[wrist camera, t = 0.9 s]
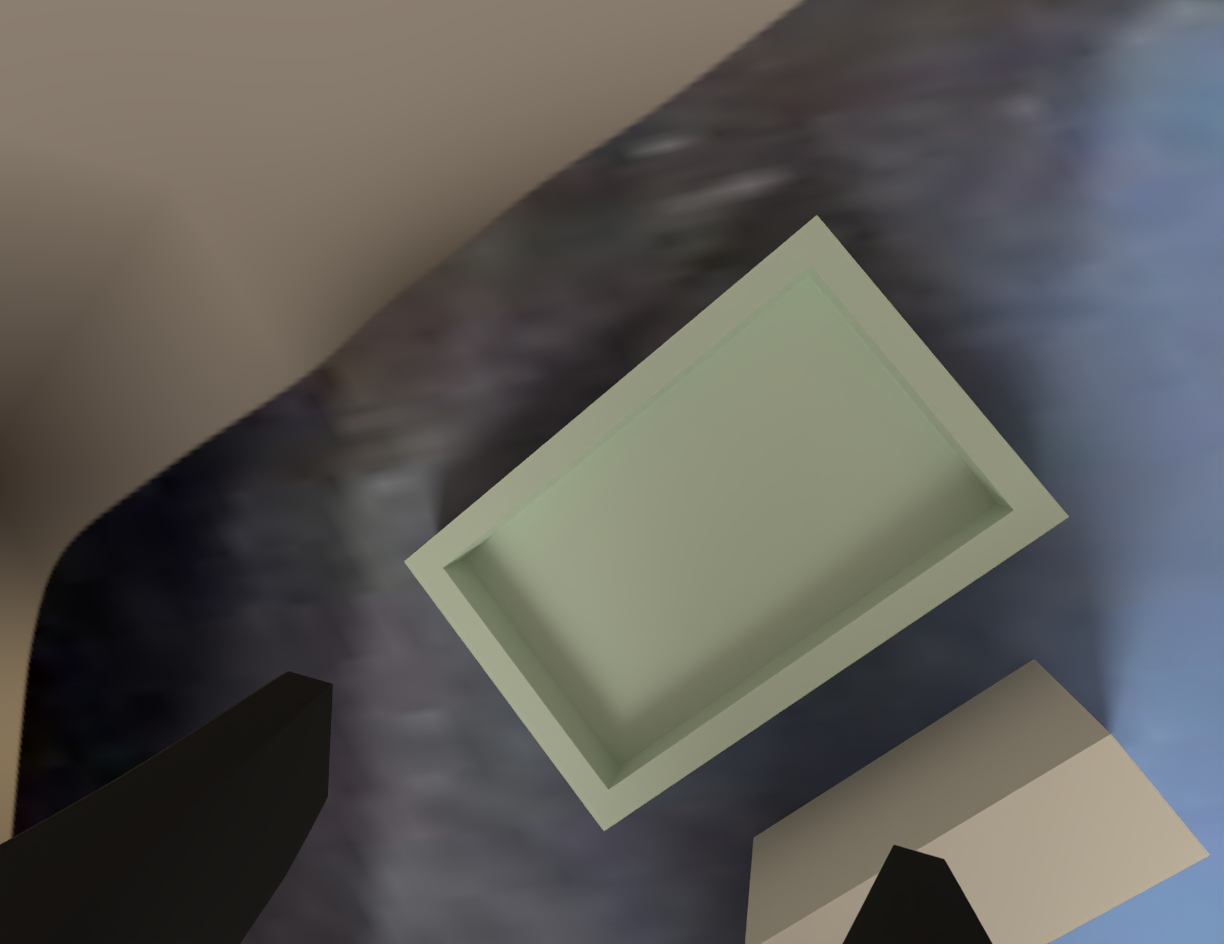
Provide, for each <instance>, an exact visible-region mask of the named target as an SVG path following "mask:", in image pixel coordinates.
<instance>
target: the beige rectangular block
mask: <svg viewBox="0 0 1224 944" xmlns="http://www.w3.org/2000/svg"><path fill="white" fill-rule="evenodd" d="M893 845H897V846H901V847H904V848H908V849H911V850H915V851H918V852H922V853H925V854H929V855H932V856H936V857H939V858H942V859H945V861H946V863H947V864H948V866H949V868H950V870H951V871H952V873H953V875H954V877H955V878H956V880H957V882H958V884H959V885H960V887H961V889H962V891H963V892H964V894H965V896H966V898H967V899H968V901H969V903H970V905H971V906H972V908H973V910H974V912H975V913H976V915H977V917H978V919H979V921H980V922H981V924H982V926H983V928H984V929H985V931H986V933H987V935H988V936H989V938H990V940H991V942H992V944H1048V943H1050V942H1051V941H1053V940H1055V939H1057V938H1059V937H1061V936H1062V935H1064V934H1066V933H1068V932H1070V931H1072V930H1073V929H1075V928H1077V927H1079V926H1081V925H1083V924H1084V923H1086V922H1088V921H1090V920H1092V919H1094V918H1095V917H1097V916H1099V915H1101V914H1103V913H1105V912H1107V911H1108V910H1110V909H1112V908H1114V907H1116V906H1118V905H1119V904H1121V903H1123V902H1125V901H1127V900H1129V899H1130V898H1132V897H1134V896H1136V895H1138V894H1140V893H1141V892H1143V891H1145V890H1147V889H1149V888H1151V887H1152V886H1154V885H1156V884H1158V883H1160V882H1162V881H1163V880H1165V879H1167V878H1169V877H1171V876H1173V875H1175V874H1176V873H1178V872H1180V871H1182V870H1184V869H1186V868H1187V867H1189V866H1191V865H1193V864H1195V863H1197V862H1198V861H1200V860H1202V859H1204V858H1206V857H1208V856H1209V853H1208V852H1207V851H1206V850H1205V848H1204V847H1203V846H1202V845H1201V843H1200V842H1199V841H1198V840H1197V839H1196V837H1195V836H1194V835H1193V834H1192V832H1191V831H1190V830H1189V829H1188V828H1187V826H1186V825H1185V824H1184V823H1183V821H1182V820H1181V819H1180V818H1179V817H1178V815H1177V814H1176V813H1175V812H1174V810H1173V809H1172V808H1171V807H1170V806H1169V804H1168V803H1167V802H1166V801H1165V799H1164V798H1163V797H1162V796H1161V795H1160V793H1159V792H1158V791H1157V790H1156V788H1155V787H1154V786H1153V785H1152V784H1151V782H1150V781H1149V780H1148V779H1147V777H1146V776H1145V775H1144V774H1143V772H1142V771H1141V770H1140V769H1139V768H1138V766H1137V765H1136V764H1135V763H1134V761H1133V760H1132V759H1131V758H1130V757H1129V755H1128V754H1127V753H1126V752H1125V750H1124V749H1123V748H1122V747H1121V746H1120V744H1119V743H1118V742H1117V741H1116V739H1115V738H1114V737H1113V736H1112V735H1111V733H1110V732H1109V731H1108V730H1106V729H1105V728H1104V727H1103V726H1102V725H1101V724H1100V723H1099V722H1098V721H1097V720H1096V719H1095V718H1094V717H1093V716H1092V715H1091V714H1090V713H1089V712H1088V711H1087V710H1086V709H1085V708H1084V707H1083V706H1082V705H1081V704H1080V703H1079V702H1078V701H1077V700H1076V699H1075V698H1074V697H1073V696H1072V695H1071V694H1070V693H1069V692H1068V691H1067V690H1066V689H1065V688H1064V687H1063V686H1061V685H1060V684H1059V683H1058V682H1057V681H1056V680H1055V679H1054V678H1053V677H1052V676H1051V675H1050V674H1049V673H1048V672H1047V671H1046V670H1045V669H1044V668H1043V667H1042V666H1041V665H1040V664H1039V663H1038V662H1037V661H1036V660H1035V659H1033V660H1031V661H1030V662H1028V663H1027V664H1025V665H1023V666H1022V667H1020V668H1019V669H1017V670H1016V671H1014V672H1012V673H1011V674H1009V675H1008V676H1006V677H1005V678H1003V679H1001V680H1000V681H998V682H997V683H995V684H994V685H992V686H991V687H989V688H987V689H986V690H984V691H983V692H981V693H980V694H978V695H976V696H975V697H973V698H972V699H970V700H969V701H967V702H965V703H964V704H962V705H961V706H959V707H958V708H956V709H954V710H953V711H951V712H950V713H948V714H947V715H945V716H943V717H942V718H940V719H939V720H937V721H936V722H934V723H932V724H931V725H929V726H928V727H926V728H925V729H923V730H921V731H920V732H918V733H917V734H915V735H914V736H912V737H911V738H909V739H907V740H906V741H904V742H903V743H901V744H900V745H898V746H896V747H895V748H893V749H892V750H890V751H889V752H887V753H885V754H884V755H882V756H881V757H879V758H878V759H876V760H874V761H873V762H871V763H870V764H868V765H867V766H865V767H863V768H862V769H860V770H859V771H857V772H856V773H854V774H852V775H851V776H849V777H848V778H846V779H845V780H843V781H841V782H840V783H838V784H837V785H835V786H834V787H832V788H831V789H829V790H827V791H826V792H824V793H823V794H821V795H820V796H818V797H816V798H815V799H813V800H812V801H810V802H809V803H807V804H805V805H804V806H802V807H801V808H799V809H798V810H796V811H794V812H793V813H791V814H790V815H788V816H787V817H785V818H783V819H782V820H780V821H779V822H777V823H776V824H774V825H772V826H771V827H769V828H768V829H766V830H765V831H763V832H761V833H760V834H758V835H757V836H755V837H754V838H753V850H752V862H751V875H750V887H749V900H748V912H747V925H746V937H745V944H843V942H844V940H845V938H846V936H847V934H848V932H849V930H850V928H851V926H852V924H853V922H854V920H855V919H856V917H857V915H858V913H859V911H860V909H861V907H862V905H863V903H864V901H865V899H866V897H867V895H868V893H869V891H870V889H871V887H872V886H873V884H874V882H875V880H876V878H877V876H878V874H879V872H880V870H881V868H882V866H883V864H884V862H885V860H886V858H887V856H888V854H889V853H890V851H891V849H892V847H893Z"/></svg>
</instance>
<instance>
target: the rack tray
mask: <svg viewBox="0 0 1224 944" xmlns="http://www.w3.org/2000/svg"><path fill="white" fill-rule="evenodd" d="M1068 517H1069V516H1068V515H1067V514H1066V513H1065V511H1064V510H1063V509H1062V508H1061V507H1060V505H1059V504H1058V503H1057V502H1056V501H1055V499H1054V498H1053V497H1052V496H1051V495H1050V493H1049V492H1048V491H1047V490H1046V489H1045V487H1044V486H1043V485H1042V484H1041V483H1040V481H1039V480H1038V479H1037V478H1036V477H1035V475H1034V474H1033V473H1032V472H1031V471H1030V469H1029V468H1028V467H1027V466H1026V465H1025V463H1024V462H1023V461H1022V460H1021V459H1020V457H1019V456H1018V455H1017V454H1016V453H1015V451H1014V450H1013V449H1012V448H1011V447H1010V445H1009V444H1008V443H1007V442H1006V441H1005V439H1004V438H1003V437H1002V436H1001V435H1000V433H999V432H998V431H997V430H996V429H995V427H994V426H993V425H992V424H991V423H990V421H989V420H988V419H987V418H986V417H985V416H984V414H983V413H982V412H981V411H980V410H979V408H978V407H977V406H976V405H975V404H974V402H973V401H972V400H971V399H970V398H969V396H968V395H967V394H966V393H965V392H964V390H963V389H962V388H961V387H960V386H959V384H958V383H957V382H956V381H955V380H954V378H953V377H952V376H951V375H950V374H949V372H948V371H947V370H946V369H945V368H944V366H943V365H942V364H941V363H940V362H939V360H938V359H937V358H936V357H935V356H934V354H933V353H932V352H931V351H930V350H929V348H928V347H927V346H926V345H925V344H924V342H923V341H922V340H921V339H920V338H919V336H918V335H917V334H916V333H915V332H914V330H913V329H912V328H911V327H910V326H909V325H908V323H907V322H906V321H905V320H904V319H903V317H902V316H901V315H900V314H899V313H898V311H897V310H896V309H895V308H894V307H893V305H892V304H891V303H890V302H889V301H888V299H887V298H886V297H885V296H884V295H883V293H882V292H881V291H880V290H879V289H878V287H877V286H876V285H875V284H874V283H873V281H872V280H871V279H870V278H869V277H868V275H867V274H866V273H865V272H864V271H863V269H862V268H861V267H860V266H859V265H858V263H857V262H856V261H855V260H854V259H853V257H852V256H851V255H850V254H849V253H848V251H847V250H846V249H845V248H844V247H843V245H842V244H841V243H840V242H839V241H838V239H837V238H836V237H835V236H834V235H833V233H832V232H831V231H830V230H829V229H828V228H827V226H826V225H825V224H824V223H823V222H822V220H821V219H820V218H819V217H818V216H817V215H816V216H815V217H814V218H813V219H812V220H810V221H809V222H808V223H807V224H806V225H804V226H803V227H802V228H801V229H800V230H798V231H797V232H796V233H795V234H794V235H792V236H791V237H790V238H789V239H788V240H787V241H785V242H784V243H783V244H782V245H781V246H779V247H778V248H777V249H776V250H775V251H773V252H772V253H771V254H770V255H769V256H767V257H766V258H765V259H764V260H763V261H762V262H760V263H759V264H758V265H757V266H756V267H754V268H753V269H752V270H751V271H750V272H748V273H747V274H746V275H745V276H744V277H742V278H741V279H740V280H739V281H738V282H737V283H735V284H734V285H733V286H732V287H731V288H729V289H728V290H727V291H726V292H725V293H723V294H722V295H721V296H720V297H719V298H717V299H716V300H715V301H714V302H713V303H712V304H710V305H709V306H708V307H707V308H706V309H704V310H703V311H702V312H701V313H700V314H698V315H697V316H696V317H695V318H694V319H692V320H691V321H690V322H689V323H688V324H686V325H685V326H684V327H683V328H682V329H681V330H679V331H678V332H677V333H676V334H675V335H673V336H672V337H671V338H670V339H669V340H667V341H666V342H665V343H664V344H663V345H661V346H660V347H659V348H658V349H657V350H656V351H654V352H653V353H652V354H651V355H650V356H648V357H647V358H646V359H645V360H644V361H642V362H641V363H640V364H639V365H638V366H636V367H635V368H634V369H633V370H632V371H631V372H629V373H628V374H627V375H626V376H625V377H623V378H622V379H621V380H620V381H619V382H617V383H616V384H615V385H614V386H613V387H611V388H610V389H609V390H608V391H607V392H606V393H604V394H603V395H602V396H601V397H600V398H598V399H597V400H596V401H595V402H594V403H592V404H591V405H590V406H589V407H588V408H586V409H585V410H584V411H583V412H582V413H581V414H579V415H578V416H577V417H576V418H575V419H573V420H572V421H571V422H570V423H569V424H567V425H566V426H565V427H564V428H563V429H561V430H560V431H559V432H558V433H557V434H556V435H554V436H553V437H552V438H551V439H550V440H548V441H547V442H546V443H545V444H544V445H542V446H541V447H540V448H539V449H538V450H536V451H535V452H534V453H533V454H532V455H530V456H529V457H528V458H527V459H526V460H525V461H523V462H522V463H521V464H520V465H519V466H517V467H516V468H515V469H514V470H513V471H511V472H510V473H509V474H508V475H507V476H505V477H504V478H503V479H502V480H501V481H500V482H498V483H497V484H496V485H495V486H494V487H492V488H491V489H490V490H489V491H488V492H486V493H485V494H484V495H483V496H482V497H480V498H479V499H478V500H477V501H476V502H475V503H473V504H472V505H471V506H470V507H469V508H467V509H466V510H465V511H464V512H463V513H461V514H460V515H459V516H458V517H457V518H455V519H454V520H453V521H452V522H451V523H450V524H448V525H447V526H446V527H445V528H444V529H442V530H441V531H440V532H439V533H438V534H436V535H435V536H434V537H433V538H432V539H430V540H429V541H428V542H427V543H426V544H425V545H423V546H422V547H421V548H420V549H419V550H417V551H416V552H415V553H414V554H413V555H411V556H410V557H409V558H408V559H407V560H405V561H404V562H405V563H406V565H407V566H408V568H409V569H410V570H411V572H412V573H413V574H414V576H415V577H416V578H417V580H418V581H419V582H420V584H421V585H422V586H423V588H424V589H425V590H426V592H427V593H428V595H429V596H430V597H431V599H432V600H433V601H434V603H435V604H436V605H437V607H438V608H439V609H440V611H441V612H442V613H443V615H444V616H445V617H446V619H447V620H448V622H449V623H450V624H451V626H452V627H453V628H454V630H455V631H456V632H457V634H458V635H459V636H460V638H461V639H462V640H463V642H464V643H465V644H466V646H467V647H468V649H469V650H470V651H471V653H472V654H473V655H474V657H475V658H476V659H477V661H478V662H479V663H480V665H481V666H482V667H483V669H484V670H485V671H486V673H487V674H488V676H489V677H490V678H491V680H492V681H493V682H494V684H495V685H496V686H497V688H498V689H499V690H500V692H501V693H502V694H503V696H504V697H505V698H506V700H507V701H508V703H509V704H510V705H511V707H512V708H513V709H514V711H515V712H516V713H517V715H518V716H519V717H520V719H521V720H522V721H523V723H524V724H525V725H526V727H527V728H528V730H529V731H530V732H531V734H532V735H533V736H534V738H535V739H536V740H537V742H538V743H539V744H540V746H541V747H542V748H543V750H544V751H545V752H546V754H547V755H548V757H549V758H550V759H551V761H552V762H553V763H554V765H555V766H556V767H557V769H558V770H559V771H560V773H561V774H562V775H563V777H564V778H565V779H566V781H567V782H568V784H569V785H570V786H571V788H572V789H573V790H574V792H575V793H576V794H577V796H578V797H579V798H580V800H581V801H582V802H583V804H584V805H585V806H586V808H587V809H588V811H589V812H590V813H591V815H592V816H593V817H594V819H595V820H596V821H597V823H598V824H599V825H600V827H601V828H602V829H603V831H605V830H607V829H608V828H609V827H611V826H612V825H614V824H615V823H617V822H618V821H620V820H621V819H623V818H624V817H626V816H627V815H629V814H630V813H632V812H633V811H635V810H636V809H638V808H639V807H641V806H642V805H644V804H645V803H646V802H648V801H649V800H651V799H652V798H654V797H655V796H657V795H658V794H660V793H661V792H663V791H664V790H666V789H667V788H669V787H670V786H672V785H673V784H675V783H676V782H678V781H679V780H681V779H682V778H683V777H685V776H686V775H688V774H689V773H691V772H692V771H694V770H695V769H697V768H698V767H700V766H701V765H703V764H704V763H706V762H707V761H709V760H710V759H712V758H713V757H715V756H716V755H718V754H719V753H720V752H722V751H723V750H725V749H726V748H728V747H729V746H731V745H732V744H734V743H735V742H737V741H738V740H740V739H741V738H743V737H744V736H746V735H747V734H749V733H750V732H752V731H753V730H755V729H756V728H757V727H759V726H760V725H762V724H763V723H765V722H766V721H768V720H769V719H771V718H772V717H774V716H775V715H777V714H778V713H780V712H781V711H783V710H784V709H786V708H787V707H789V706H790V705H792V704H793V703H794V702H796V701H797V700H799V699H800V698H802V697H803V696H805V695H806V694H808V693H809V692H811V691H812V690H814V689H815V688H817V687H818V686H820V685H821V684H823V683H824V682H826V681H827V680H829V679H830V678H831V677H833V676H834V675H836V674H837V673H839V672H840V671H842V670H843V669H845V668H846V667H848V666H849V665H851V664H852V663H854V662H855V661H857V660H858V659H860V658H861V657H863V656H864V655H866V654H867V653H868V652H870V651H871V650H873V649H874V648H876V647H877V646H879V645H880V644H882V643H883V642H885V641H886V640H888V639H889V638H891V637H892V636H894V635H895V634H897V633H898V632H900V631H901V630H903V629H904V628H905V627H907V626H908V625H910V624H911V623H913V622H914V621H916V620H917V619H919V618H920V617H922V616H923V615H925V614H926V613H928V612H929V611H931V610H932V609H934V608H935V607H937V606H938V605H940V604H941V603H942V602H944V601H945V600H947V599H948V598H950V597H951V596H953V595H954V594H956V593H957V592H959V591H960V590H962V589H963V588H965V587H966V586H968V585H969V584H971V583H972V582H974V581H975V580H977V579H978V578H979V577H981V576H982V575H984V574H985V573H987V572H988V571H990V570H991V569H993V568H994V567H996V566H997V565H999V564H1000V563H1002V562H1003V561H1005V560H1006V559H1008V558H1009V557H1011V556H1012V555H1014V554H1015V553H1016V552H1018V551H1019V550H1021V549H1022V548H1024V547H1025V546H1027V545H1028V544H1030V543H1031V542H1033V541H1034V540H1036V539H1037V538H1039V537H1040V536H1042V535H1043V534H1045V533H1046V532H1048V531H1049V530H1051V529H1052V528H1053V527H1055V526H1056V525H1058V524H1059V523H1061V522H1062V521H1064V520H1065V519H1067V518H1068Z"/></svg>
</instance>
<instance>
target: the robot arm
mask: <svg viewBox="0 0 1224 944" xmlns="http://www.w3.org/2000/svg"><path fill="white" fill-rule="evenodd" d="M332 690H333V684H331V683H328V682H324V681H321V680H317V679H314V678H310V677H307V676H303V675H300V674H296V673H293V672H289V671H288V672H286V673H284V674H283V675H281V676H279V677H278V678H276V679H274V680H273V681H271V682H270V683H268V684H266V685H265V686H263V687H262V688H260V689H259V690H257V691H255V692H254V693H252V694H251V695H249V696H248V697H246V698H245V699H243V700H241V701H240V702H238V703H237V704H235V705H234V706H232V707H231V708H229V709H228V710H226V711H224V712H223V713H221V714H220V715H218V716H217V717H215V718H214V719H212V720H210V721H209V722H207V723H206V724H204V725H203V726H201V727H199V728H198V729H196V730H195V731H193V732H192V733H190V734H188V735H187V736H185V737H184V738H182V739H180V740H179V741H177V742H176V743H174V744H172V745H171V746H169V747H168V748H166V749H164V750H163V751H161V752H159V753H158V754H156V755H154V756H153V757H151V758H150V759H148V760H146V761H145V762H143V763H141V764H140V765H138V766H136V767H135V768H133V769H132V770H130V771H128V772H127V773H125V774H123V775H122V776H120V777H118V778H117V779H115V780H114V781H112V782H110V783H108V784H107V785H105V786H103V787H102V788H100V789H98V790H97V791H95V792H93V793H91V794H90V795H88V796H86V797H84V798H83V799H81V800H79V801H77V802H75V803H74V804H72V805H70V806H68V807H67V808H65V809H63V810H61V811H59V812H58V813H56V814H54V815H52V816H51V817H49V818H47V819H45V820H43V821H42V822H40V823H38V824H36V825H35V826H33V827H31V828H29V829H27V830H26V831H24V832H22V833H20V834H19V835H17V836H15V837H13V838H11V839H9V840H8V841H6V842H4V843H2V844H0V944H240V943H241V941H242V940H243V938H244V937H245V935H246V934H247V933H248V931H249V930H250V928H251V927H252V925H253V924H254V922H255V921H256V919H257V918H258V916H259V915H260V913H261V912H262V910H263V909H264V907H265V906H266V904H267V903H268V901H269V900H270V898H271V897H272V895H273V894H274V892H275V891H276V889H277V888H278V886H279V885H280V883H281V882H282V880H283V879H284V877H285V876H286V874H287V872H288V870H289V869H290V867H291V865H292V863H293V861H294V860H295V858H296V856H297V854H298V852H299V850H300V849H301V847H302V845H303V843H304V841H305V839H306V838H307V836H308V834H309V832H310V830H311V828H312V826H313V824H314V822H315V820H316V818H317V816H318V814H319V813H320V811H321V809H322V807H323V805H324V803H325V801H326V799H327V797H328V778H329V756H330V734H331V712H332ZM843 944H992V942H991V940H990V938H989V936H988V935H987V933H986V931H985V929H984V928H983V926H982V924H981V922H980V921H979V919H978V917H977V915H976V913H975V912H974V910H973V908H972V906H971V905H970V903H969V901H968V899H967V898H966V896H965V894H964V892H963V891H962V889H961V887H960V885H959V884H958V882H957V880H956V878H955V877H954V875H953V873H952V871H951V870H950V868H949V866H948V864H947V863H946V861H945V859H942V858H939V857H936V856H932V855H929V854H925V853H922V852H918V851H915V850H911V849H908V848H904V847H901V846H897V845H893V847H892V849H891V851H890V853H889V854H888V856H887V858H886V860H885V862H884V864H883V866H882V868H881V870H880V872H879V874H878V876H877V878H876V880H875V882H874V884H873V886H872V887H871V889H870V891H869V893H868V895H867V897H866V899H865V901H864V903H863V905H862V907H861V909H860V911H859V913H858V915H857V917H856V919H855V920H854V922H853V924H852V926H851V928H850V930H849V932H848V934H847V936H846V938H845V940H844V942H843Z"/></svg>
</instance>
